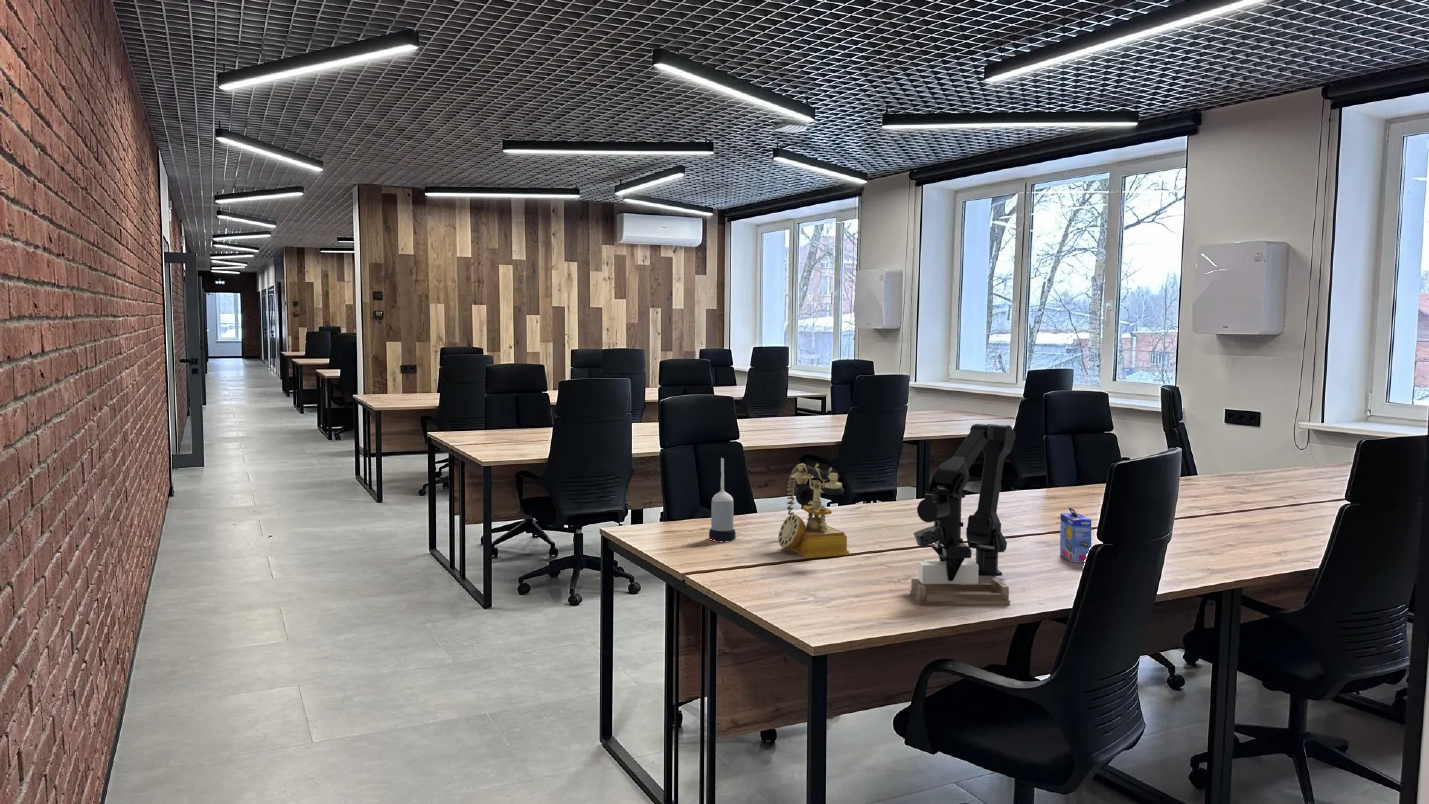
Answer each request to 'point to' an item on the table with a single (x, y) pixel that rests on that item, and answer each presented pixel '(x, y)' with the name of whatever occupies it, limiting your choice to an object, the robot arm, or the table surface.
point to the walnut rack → (960, 593)
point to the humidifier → (722, 514)
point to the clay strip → (938, 573)
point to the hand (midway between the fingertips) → (948, 578)
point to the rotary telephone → (816, 533)
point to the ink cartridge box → (1075, 536)
